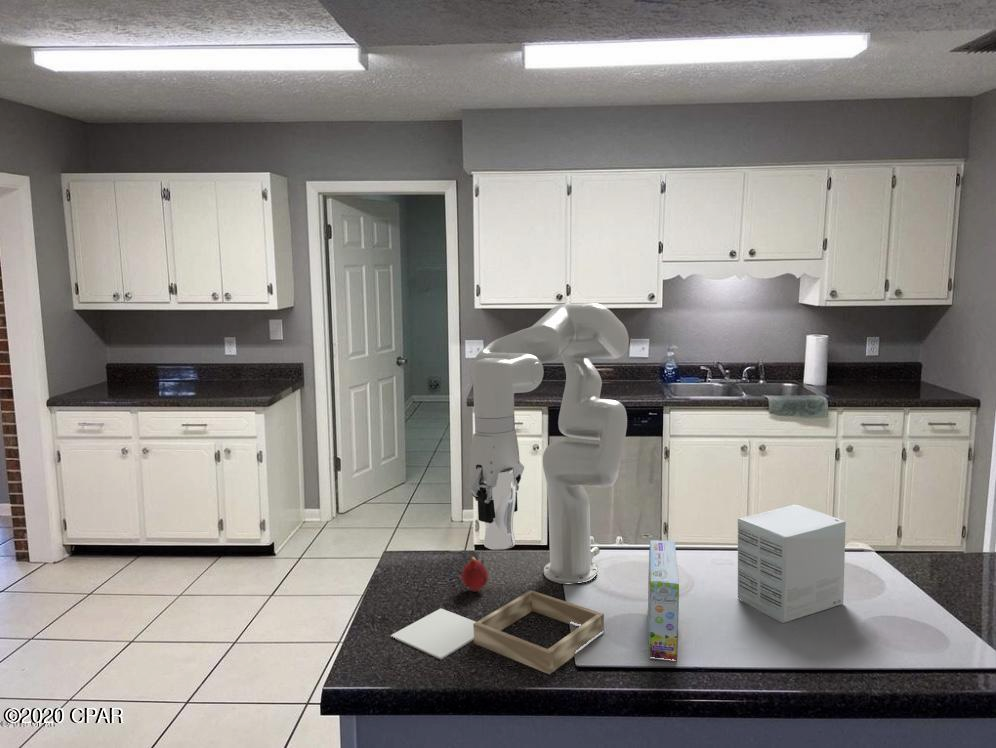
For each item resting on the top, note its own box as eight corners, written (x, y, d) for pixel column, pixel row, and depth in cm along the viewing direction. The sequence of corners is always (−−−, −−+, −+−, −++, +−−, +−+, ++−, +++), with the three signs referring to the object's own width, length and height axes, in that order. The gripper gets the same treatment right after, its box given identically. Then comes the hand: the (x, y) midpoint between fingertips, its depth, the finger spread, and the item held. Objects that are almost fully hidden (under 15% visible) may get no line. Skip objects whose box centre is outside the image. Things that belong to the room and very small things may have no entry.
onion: (492, 588, 161) (491, 554, 160) (481, 598, 156) (480, 564, 155) (469, 584, 164) (468, 550, 163) (458, 594, 159) (456, 560, 157)
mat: (440, 610, 152) (440, 608, 152) (490, 629, 143) (490, 627, 143) (390, 636, 141) (390, 635, 141) (441, 659, 132) (441, 657, 132)
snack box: (680, 663, 128) (680, 583, 126) (648, 660, 129) (647, 582, 127) (675, 608, 149) (675, 539, 146) (648, 606, 150) (647, 538, 148)
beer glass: (524, 540, 138) (521, 465, 136) (506, 553, 132) (503, 474, 130) (493, 535, 142) (490, 461, 140) (474, 547, 136) (471, 470, 134)
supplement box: (793, 581, 159) (795, 502, 157) (845, 604, 147) (848, 520, 145) (734, 598, 152) (735, 517, 149) (783, 625, 140) (785, 537, 137)
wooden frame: (531, 607, 151) (530, 590, 150) (604, 633, 139) (603, 613, 139) (474, 643, 138) (473, 623, 137) (549, 674, 126) (548, 653, 125)
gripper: (507, 414, 143) (510, 500, 145) (448, 431, 129) (453, 525, 132) (537, 417, 138) (540, 506, 141) (480, 435, 125) (484, 533, 127)
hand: (498, 515), depth 136 cm, fingers closed on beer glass, 6 cm apart
